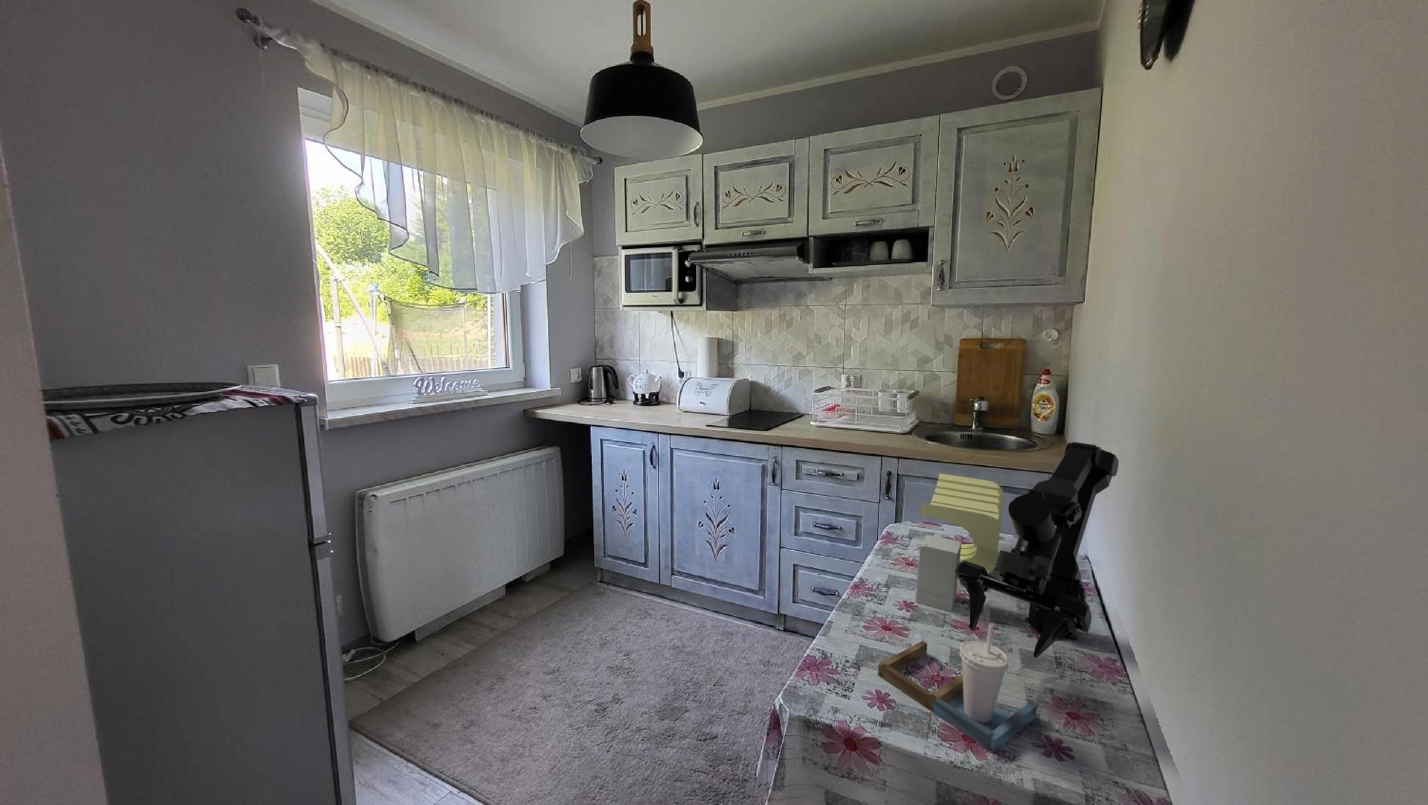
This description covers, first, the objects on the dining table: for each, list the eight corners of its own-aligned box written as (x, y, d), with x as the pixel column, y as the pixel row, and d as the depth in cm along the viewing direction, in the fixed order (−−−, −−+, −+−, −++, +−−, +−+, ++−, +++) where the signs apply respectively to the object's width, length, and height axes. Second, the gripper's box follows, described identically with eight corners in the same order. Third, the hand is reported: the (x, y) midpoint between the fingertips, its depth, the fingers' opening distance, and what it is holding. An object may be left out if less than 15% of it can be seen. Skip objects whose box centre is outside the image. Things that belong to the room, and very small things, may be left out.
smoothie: (1011, 729, 74) (1022, 638, 72) (968, 730, 74) (978, 638, 72) (986, 697, 81) (995, 613, 79) (946, 698, 80) (954, 613, 78)
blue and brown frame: (921, 651, 93) (922, 640, 92) (1035, 717, 77) (1037, 705, 77) (877, 675, 86) (878, 664, 86) (993, 753, 70) (995, 739, 70)
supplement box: (952, 612, 106) (957, 553, 104) (913, 601, 110) (918, 544, 108) (957, 597, 112) (962, 541, 110) (920, 587, 116) (925, 533, 114)
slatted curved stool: (992, 595, 113) (1000, 517, 111) (914, 576, 121) (921, 502, 119) (998, 547, 139) (1005, 483, 136) (934, 534, 147) (939, 473, 144)
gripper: (964, 514, 89) (929, 596, 83) (1096, 551, 75) (1065, 651, 70) (978, 546, 95) (946, 624, 90) (1103, 585, 82) (1074, 679, 76)
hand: (1001, 642), depth 81 cm, fingers open, 9 cm apart
